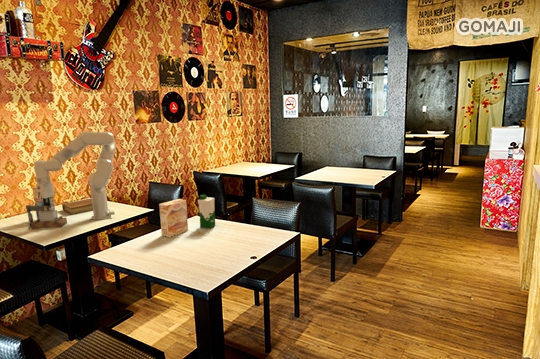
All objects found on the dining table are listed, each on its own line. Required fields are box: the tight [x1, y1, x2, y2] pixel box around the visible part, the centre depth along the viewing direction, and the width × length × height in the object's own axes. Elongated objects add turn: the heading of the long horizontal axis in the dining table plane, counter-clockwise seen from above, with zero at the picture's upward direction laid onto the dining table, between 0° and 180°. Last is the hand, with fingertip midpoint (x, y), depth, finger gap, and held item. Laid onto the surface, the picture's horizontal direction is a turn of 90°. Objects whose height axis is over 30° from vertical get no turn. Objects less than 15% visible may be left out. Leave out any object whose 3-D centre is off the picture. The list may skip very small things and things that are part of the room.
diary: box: [61, 198, 93, 216], centre depth 286 cm, size 23×19×6 cm
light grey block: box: [39, 209, 59, 222], centre depth 247 cm, size 9×5×7 cm, turn 96°
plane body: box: [31, 215, 68, 230], centre depth 248 cm, size 18×9×5 cm, turn 96°
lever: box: [25, 204, 50, 212], centre depth 243 cm, size 16×3×3 cm, turn 80°
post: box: [26, 211, 34, 229], centre depth 246 cm, size 4×4×11 cm
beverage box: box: [32, 187, 56, 220], centre depth 261 cm, size 7×11×22 cm, turn 61°
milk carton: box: [197, 194, 216, 229], centre depth 238 cm, size 9×9×20 cm
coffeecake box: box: [158, 198, 189, 238], centre depth 227 cm, size 15×7×20 cm, turn 143°
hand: (47, 207), depth 245 cm, fingers closed
